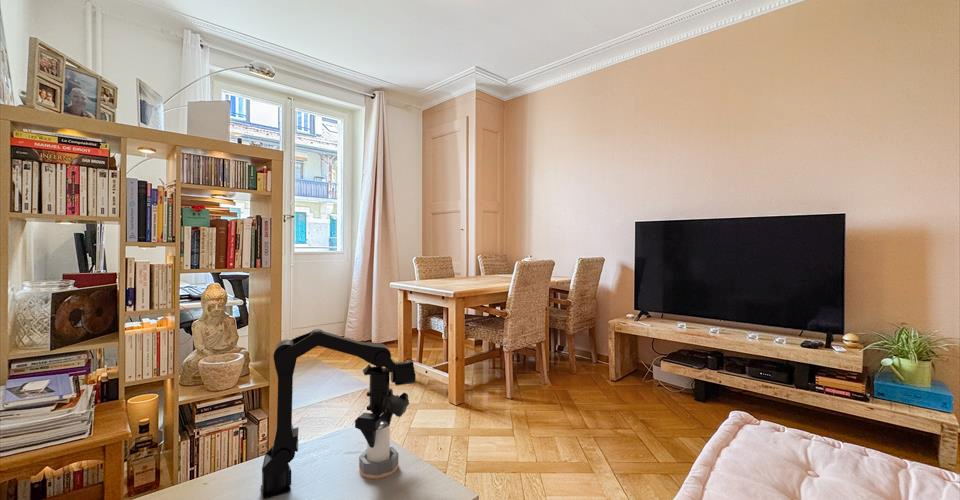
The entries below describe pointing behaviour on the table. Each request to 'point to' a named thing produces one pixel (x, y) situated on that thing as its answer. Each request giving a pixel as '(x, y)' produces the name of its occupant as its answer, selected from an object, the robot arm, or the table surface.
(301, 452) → the table surface
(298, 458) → the table surface
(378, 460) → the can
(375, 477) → the socket
